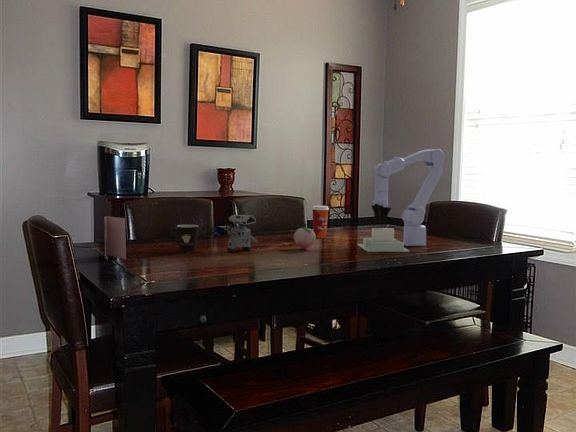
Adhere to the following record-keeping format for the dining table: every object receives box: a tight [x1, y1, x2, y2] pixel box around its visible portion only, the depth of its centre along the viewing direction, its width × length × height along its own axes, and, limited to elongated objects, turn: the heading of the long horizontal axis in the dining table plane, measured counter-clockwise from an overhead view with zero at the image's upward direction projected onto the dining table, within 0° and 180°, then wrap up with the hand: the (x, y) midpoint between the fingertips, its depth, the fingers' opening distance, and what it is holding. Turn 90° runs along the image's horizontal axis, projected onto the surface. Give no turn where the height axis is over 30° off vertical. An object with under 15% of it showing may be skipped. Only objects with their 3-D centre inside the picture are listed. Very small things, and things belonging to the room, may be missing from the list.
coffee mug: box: [167, 224, 200, 253], centre depth 220 cm, size 12×9×10 cm
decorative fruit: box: [293, 227, 317, 250], centre depth 228 cm, size 9×8×10 cm
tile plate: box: [371, 227, 395, 241], centre depth 234 cm, size 9×2×8 cm, turn 96°
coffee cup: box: [311, 205, 330, 239], centre depth 263 cm, size 8×8×15 cm
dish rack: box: [357, 237, 410, 253], centre depth 235 cm, size 18×17×4 cm
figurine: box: [226, 214, 261, 253], centre depth 219 cm, size 9×12×15 cm
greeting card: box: [102, 215, 127, 260], centre depth 200 cm, size 11×7×15 cm, turn 22°
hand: (380, 222), depth 241 cm, fingers open, 7 cm apart
